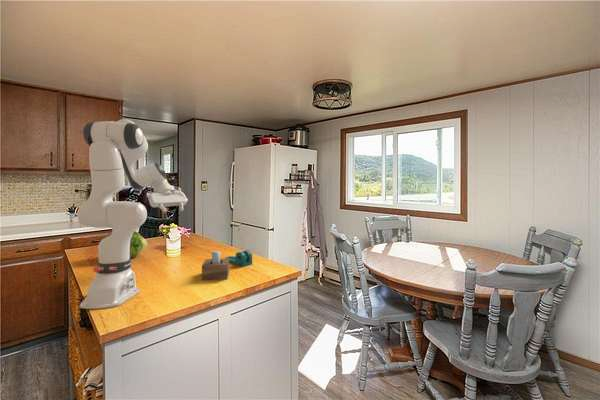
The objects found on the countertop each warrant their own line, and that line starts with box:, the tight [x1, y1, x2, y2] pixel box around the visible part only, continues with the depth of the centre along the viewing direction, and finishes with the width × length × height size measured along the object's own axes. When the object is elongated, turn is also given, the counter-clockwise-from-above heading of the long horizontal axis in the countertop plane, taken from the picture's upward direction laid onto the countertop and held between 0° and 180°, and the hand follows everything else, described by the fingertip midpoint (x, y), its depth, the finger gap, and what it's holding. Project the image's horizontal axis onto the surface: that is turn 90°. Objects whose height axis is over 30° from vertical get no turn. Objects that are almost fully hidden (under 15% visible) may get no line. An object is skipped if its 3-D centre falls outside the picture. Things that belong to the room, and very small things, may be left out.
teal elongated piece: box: [224, 249, 253, 268], centre depth 173 cm, size 18×7×8 cm, turn 52°
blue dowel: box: [211, 250, 221, 264], centre depth 150 cm, size 4×4×12 cm
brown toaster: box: [201, 258, 230, 281], centre depth 150 cm, size 12×12×7 cm
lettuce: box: [106, 230, 148, 259], centre depth 181 cm, size 19×23×18 cm
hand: (174, 210), depth 160 cm, fingers open, 8 cm apart
